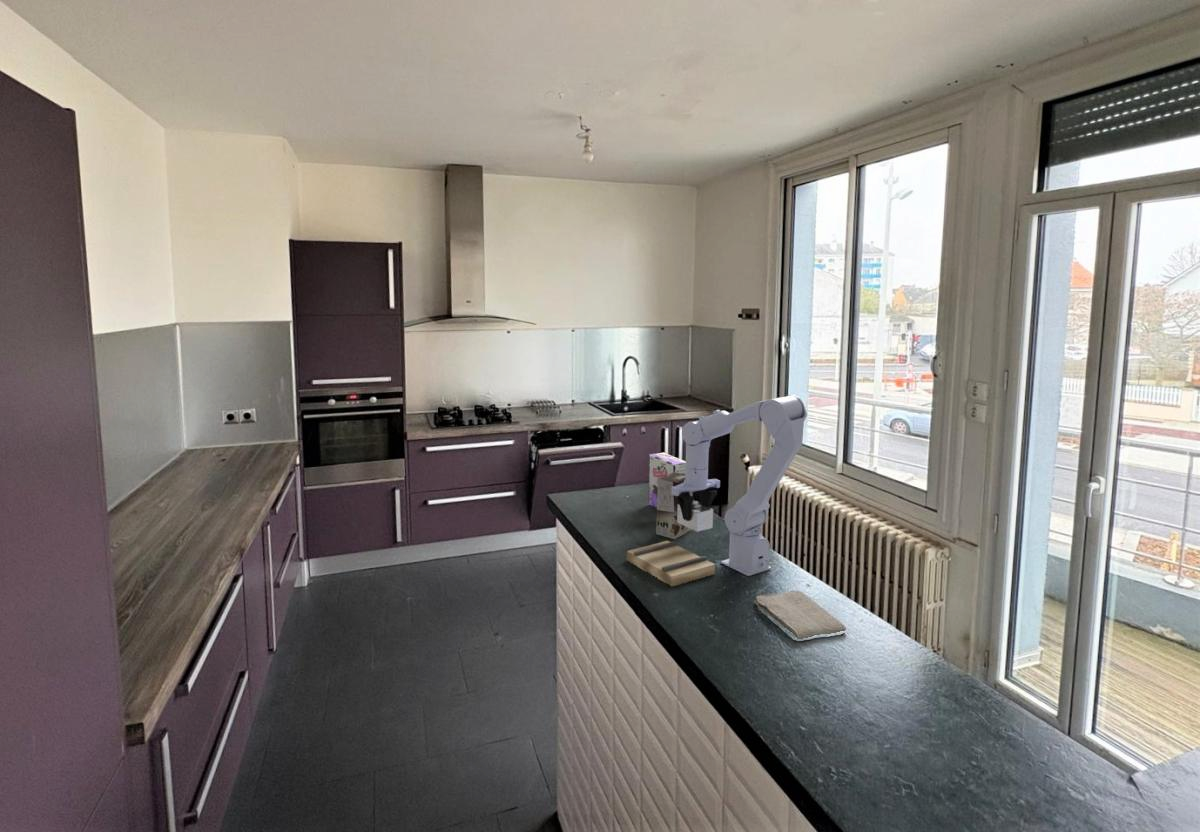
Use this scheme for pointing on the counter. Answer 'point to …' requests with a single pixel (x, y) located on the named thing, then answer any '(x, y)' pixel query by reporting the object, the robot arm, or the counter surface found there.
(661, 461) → the candy box
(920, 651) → the counter surface
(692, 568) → the stand
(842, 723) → the counter surface
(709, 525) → the block
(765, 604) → the washcloth
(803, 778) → the counter surface
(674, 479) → the coffee box
